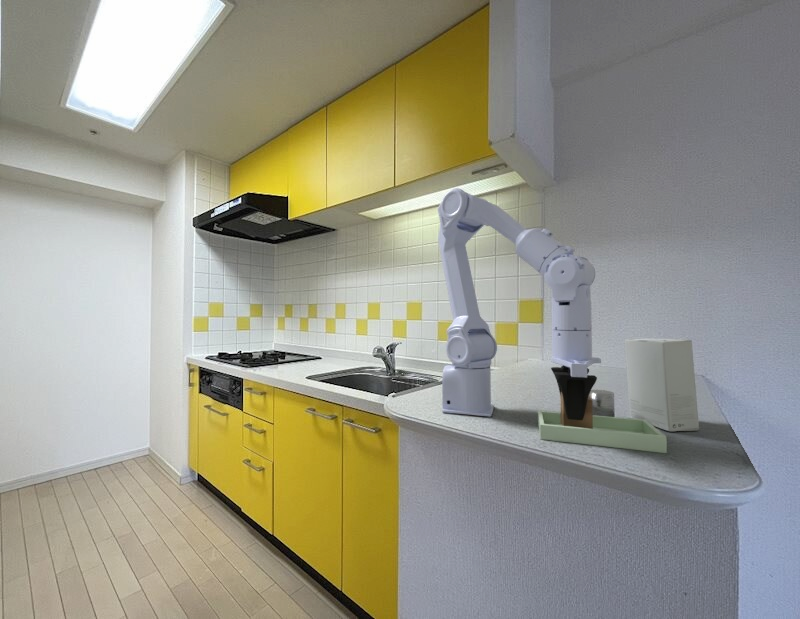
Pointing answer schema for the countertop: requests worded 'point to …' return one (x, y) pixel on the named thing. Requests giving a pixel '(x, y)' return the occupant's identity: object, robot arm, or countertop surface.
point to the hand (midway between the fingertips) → (572, 414)
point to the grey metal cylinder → (602, 403)
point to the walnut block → (584, 423)
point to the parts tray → (604, 432)
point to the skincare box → (662, 383)
